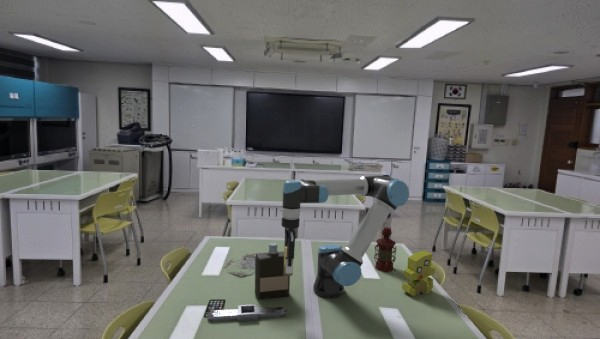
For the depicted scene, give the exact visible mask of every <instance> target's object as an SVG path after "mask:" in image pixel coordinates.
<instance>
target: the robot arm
mask: <svg viewBox="0 0 600 339" xmlns="http://www.w3.org/2000/svg"><path fill="white" fill-rule="evenodd" d="M352 195H353V196H354V195H360V196H362V197H370V198H372V204H371V207H370V208H369V210H368V211H367V212H366V214H365V215H364V217H363V219H362V221H360V224H359V225H358V227H357V229H356V230H355V232H354V233H353V235H352V236H351V238H350V239H349V241H348V243H347V244H346V246H344V247H343V246H342V245H339V244H334V243H332V244H331V243H328V244H322V245H320V246H318V251H317V272H316V273H317V274H316V278H315V280H314V283H313V287H312V289H313V290H312V291H313V292H314V294H316V295H317V296H320V297H323V298H327V299H328V298H329V299H332V298H339V297H341V296H342V295H344V294H345V293H344V292H345V287H350V286H353V285H355V284H357V282H358V281H360V279H361V277H362V265H363V263H364V261H363V257H364V255H365V254H366V252H367V251H368V250H369V248H370V245H371V244H372V242H374V240H375V237H376V235H377V234H378V232H379V231H380V229H381V228H382V226H384V224H385V222H386V220H387V219H388V217H389V214H391V213H394V212H396V209H397V208H399V207H402V206H404V205H406V204H407V202H408V201H409V197H410V190H409V187H408V185H407V183H406V182H404V180H400V179H398V178H393V177H389V176H387V175H369V176H368V175H367V176H360V177H359V178H342V179H341V178H339V179H315V180H309V179H308V180H307V179H306V180H305V179H303V178H302V179H301V178H299V179H296V180H295V179H294V180H293V179H289V180H285V181H284V182H283V188H282V207H281V208H282V209H280V212H281V227H282V228H284V247H285V246H287V257H285V259H286V273H292V267H293V268H294V259H295V249H296V248H295V247H296V246H295V245H296V231H295V229H298V228H299V227H300V217H301V204H322V203H326V202H327V200H328V199H329V197H330V196H352ZM386 218H387V219H386ZM383 223H384V224H383Z"/></svg>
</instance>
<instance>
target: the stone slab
mask: <svg viewBox="0 0 600 339" xmlns="http://www.w3.org/2000/svg"><path fill="white" fill-rule="evenodd" d="M245 254H246V255H245ZM245 254H244V255H245V256H244V255H242V257H243V258H242V257H241V258H239V259H236V260H234V259H233V258H231V259H230V260H229V261H228V262H227V263H226V265H225V266H223V268H224V269H225V268H228V267H229V266H230V267H231V265H232V264H233V263H236V265H235V266H236V267H238V269H240V270H248V272H250V273H247V272H242V271H236V272H233V271H231V272H230V271H229V272H227V273H228V274H232V275H235V276H237V277H238V276H239V277H245V276H250V275H255V255H256V253H245ZM251 257H252V259H251ZM253 257H254V258H253ZM244 258H245V259H246V260H244ZM251 268H252V269H251ZM251 271H252V272H251ZM253 271H254V272H253Z"/></svg>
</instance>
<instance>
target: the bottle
mask: <svg viewBox="0 0 600 339" xmlns="http://www.w3.org/2000/svg"><path fill="white" fill-rule="evenodd" d="M255 254H256V256H255V269H254V271H255V274H254V295H255V297H256V298H257V300H264V299H265V300H266V299H274V298H282V297H289V295H290V289H291V288H290V285H291V284H290V282H291V280H290V279H291V276H284V275H283V268H284V250H282V251H278V243H276V242H270V243H268V252H256V253H255Z"/></svg>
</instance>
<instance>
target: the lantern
mask: <svg viewBox="0 0 600 339" xmlns="http://www.w3.org/2000/svg"><path fill="white" fill-rule="evenodd" d="M387 219H390V221H389V224H391V223H392V217H391V216H390V217H389V216H388V217H387V218H386V220H387ZM383 225H385V222H384V223H383ZM380 232H381V238H378V239H376V241H375V242H376V245H375V246H374V257H373V258H374V261H375V265H374V268H375V269H376V270H377V271H378V272H379V271H380V272H384V273H390V272H393V271H394V269H395V268H394V263H395V261H396V260H397V257H396V253H397V247H396V244H397V243H396V241H395V240H393V239H391V237H392V235H393V232H392V227H391V226H389V227H388V226H383V229H381V231H380Z"/></svg>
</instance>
